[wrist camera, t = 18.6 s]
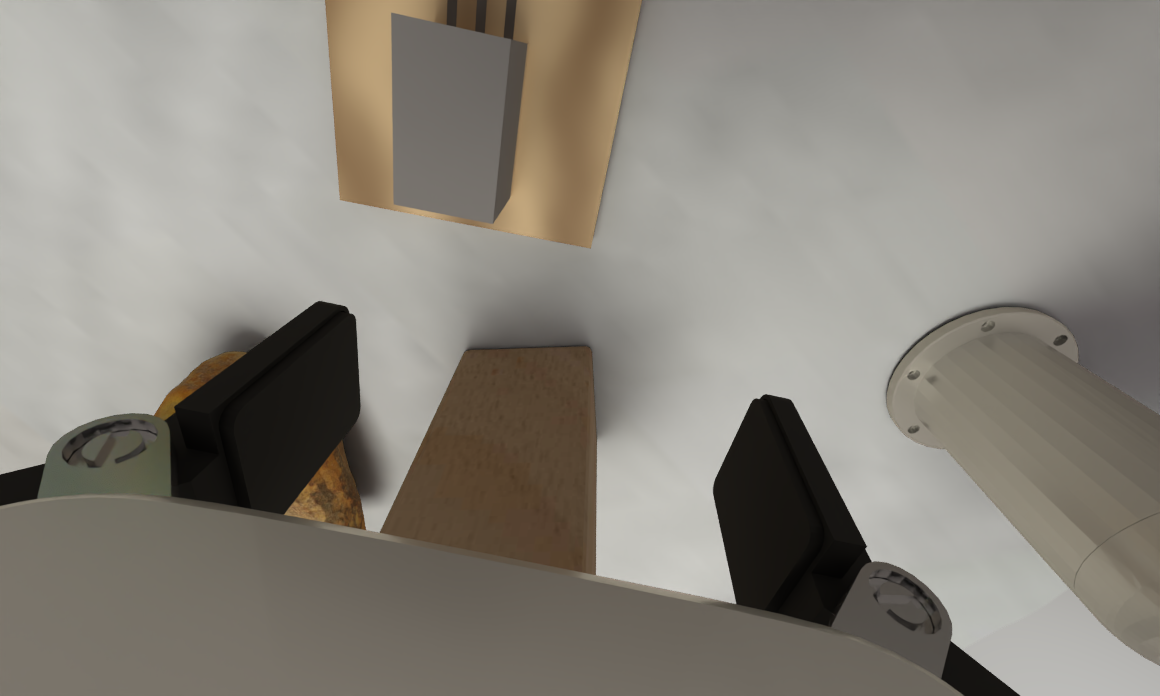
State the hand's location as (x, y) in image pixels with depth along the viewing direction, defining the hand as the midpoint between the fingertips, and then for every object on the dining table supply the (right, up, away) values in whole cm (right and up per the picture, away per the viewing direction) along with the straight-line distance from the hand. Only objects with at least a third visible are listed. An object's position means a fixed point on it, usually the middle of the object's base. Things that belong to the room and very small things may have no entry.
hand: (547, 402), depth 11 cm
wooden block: (-3, -3, +28) cm, 28 cm away
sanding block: (-5, +14, +16) cm, 22 cm away
